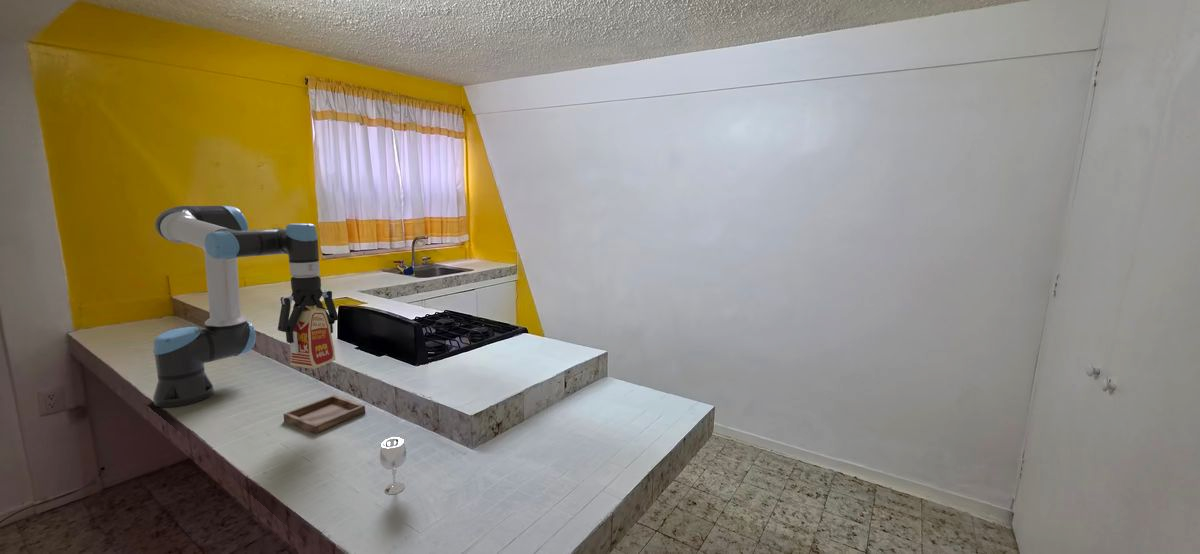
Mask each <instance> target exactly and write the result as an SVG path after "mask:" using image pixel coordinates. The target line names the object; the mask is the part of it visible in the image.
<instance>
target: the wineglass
mask: <svg viewBox="0 0 1200 554" xmlns="http://www.w3.org/2000/svg"><path fill="white" fill-rule="evenodd" d="M379 451H380V452H379V461H380V464H381V466H382V467H383V468H384V469H387V470H391V474H392V481H393V482H392V483H389V485H387V486H386V487H385V488H384V493H386V494H388V495H396V494H399V493H401V492H402V491H403V490H404V489H405V487H406V486H405V484H404V482H403V483H402V482H401V481H399V482H396V475H397V474H396V473H397V469H398V468H400V467H401V466H403V464H405V462H406V459H407V451H406V445H405V443H404V439H402V438H400V437H390V438H388V439H385V440H384V441H383V442H382V443H381V446H380V450H379Z"/></svg>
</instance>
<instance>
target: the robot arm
mask: <svg viewBox="0 0 1200 554" xmlns="http://www.w3.org/2000/svg"><path fill="white" fill-rule="evenodd" d="M248 224H249V223H248V220H247V218H246V217H245V215H244V214H243V212H242V211H241V210H240V209H239V208H237V207H235V206H230V205H179V206H178V205H177V206H174V207H170V208H168V209H165V210H163V211H162V212H161V213H160V214H158V216H157V217H156V218H155V223H154V227H155V230H156V232H157V233H158V235H159V236H160V237H162V239H164V240H167V241H169V242H172V243H177V244H186V243H187V244H190V245H192V246H196V247H198V248H200V249H202V250H203V252H204V261H205V262H204V264H205V275H206V284H207V285H206V286H207V287H206V289H207V298H208V309H209V318H208V319H207V320H205V321H204V328H203V329H200V327H198V326H186V327H179V328H174V329H171V330H168V331H166V332H163V333H160V334H159V335H157V336H156V337H155V338H154V340H153V350H152V351H153V354H154V359H155V365H156V366H155V367H156V372H157V383H156V386H155V390H154V392H153V393H154V394H153V396H152V397H153V398H152V400H153V405H154V406H155V407H158V408H174V407H175V408H177V407H182V406H183V407H184V406H187V405H191V404H194V403H197V402H198V403H199V402H202V401H203V400H206V399H208V398H210V397H211V396H212V395H214V393H215V389H214V385H213V383H212V382H211V380H210V379H209V377H208V375H207V373H206V370H205V364H207V363H211V362H215V361H218V360H219V361H220V360H223V359H228V358H232V357H237V356H240V355H242V354H243V355H244V354H246V353H248V352H250V351H251V350H252V349H253V347H254V346H255V342H256V331H255V327H254V325H253V324H252V322H250V321H248V320H247V318H246V317H245V316H244V315H242V310H241V298H240V283H239V269H238V258H248V257H250V258H251V257H261V256H271V255H272V256H273V255H288V265H289V275H290V276H291V278H290V287H291V288H290V289H291V295H289V296H282V297H280V303H281V307H280V313H279V320H278V326H277V331H279V332H282V333H285V337H286V340H285V341H286V343H288V344H289V348H290V349H289V350H290V354H291V353H295V354H297V353H298V341H297V332H295V331H294V329H295V326H296V324H297V322H298V319H299V317H300V315H301V312H302V311H303V310H304V308H305V306H315V305H316V306H317V307H319V308H321V309H324V310H325V312H326V315H327V319H328V323H329V326H330V331H331V334H333V333H334V326H333V324H335V322H337V321H338V320H339V316H338V312H337V309H336V307H335V303H334V300H333V292H332V290H327V289H325V290H322V289H321V288H322V281H321V279H322V278H321V276H320V274H321V269H320V255H319V241H318V240H319V239H318V238H319V235H318V234H317V232H318V231H317V226H316V225H315V224H313V223H288V224H287V225H286V227H285V228H280V227H278V228H270V229H269V228H268V229H251V230H250V229H249V225H248ZM321 298H323V300H324V304H325V306H326V308H325V306H324V304H323V302H322V301H321ZM293 302H294V304H293V306H291V305H292V303H293ZM291 307H292V311H291ZM326 309H327V310H326ZM290 312H291V314H290Z"/></svg>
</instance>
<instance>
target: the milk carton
mask: <svg viewBox="0 0 1200 554" xmlns="http://www.w3.org/2000/svg"><path fill="white" fill-rule="evenodd" d="M325 310H326V309H325ZM325 310H324V309H321V308H319V307H317V306H316V305H315V306H305V308H304V310H303V311H302V312H301V315H300V317H299V319H298V322H297V324H296V326H295V329H294V331H295V332H297V341H298V353H297V354H295V353H291V352H290V360H289V361H290V363H289V364H290V365H289V366H292V367H299V368H306V369H314V370H315V369H319V368H320V367H323V366H325V365H327V364H330V363H332V362H333V361H335V360H336V353H335V346H334V341H333V336H332V333H331V331H330V326H329V323H328V319H327V315H326V312H325Z"/></svg>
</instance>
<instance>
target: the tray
mask: <svg viewBox="0 0 1200 554" xmlns="http://www.w3.org/2000/svg"><path fill="white" fill-rule="evenodd" d="M365 413H366V405H364V404H361V403H358V402H356V401H352V400H350V399H346V398H344V397H340V396H337V395H336V394H332V395H329V396H327V397H324V398H322V399H320V400H317V401H314V402H311V403H309V404H305V405H303V406H301V407H298V408H295V409H293V410H289V411H287V412H285V413H283V415H282V416H283V422H284V423H287V424H290V425H291V426H294V427H297V428H299V429H302V430H304V431H307V432H309V433H312V434H314V435H318V434H321V433H322V432H325V431H327V430H329V429H332V428H333V427H336V426H338V425H341V424H343V423H345V422H348V421H350V420H352V419H354V418H356V417H357V418H358V417H359V416H361V415H363V414H365Z"/></svg>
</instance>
